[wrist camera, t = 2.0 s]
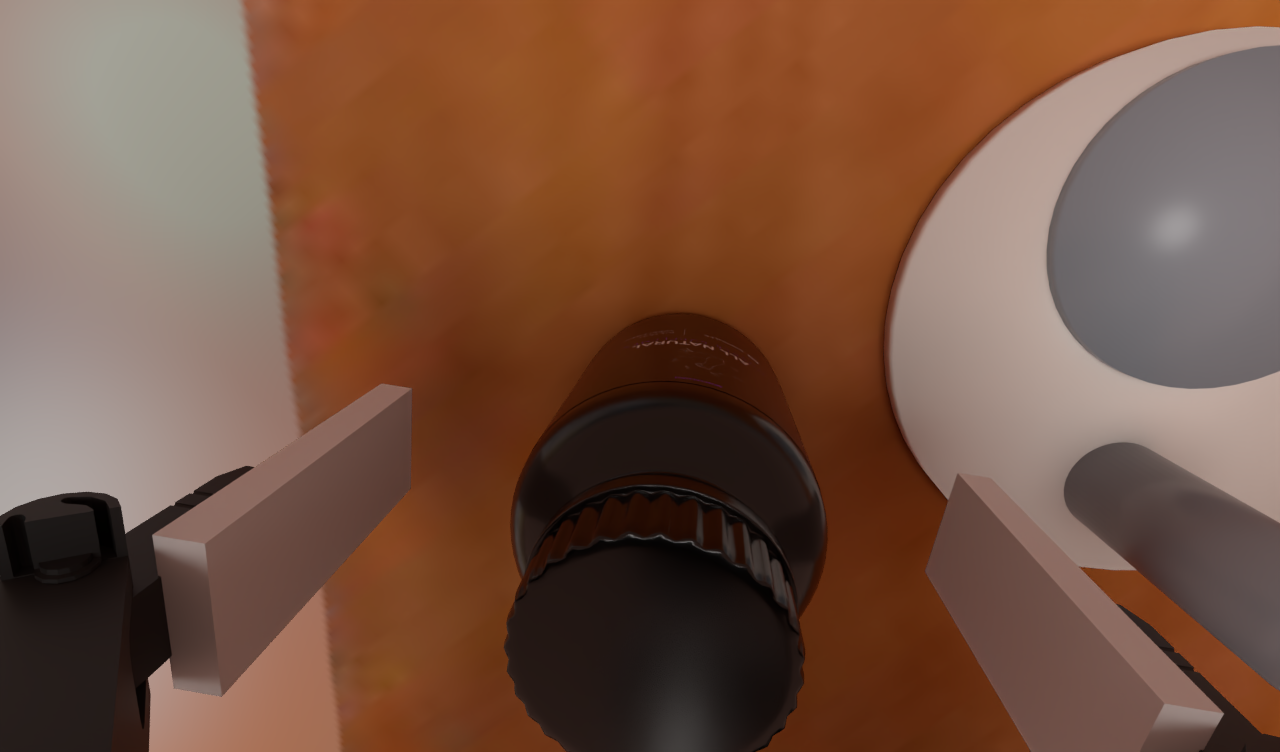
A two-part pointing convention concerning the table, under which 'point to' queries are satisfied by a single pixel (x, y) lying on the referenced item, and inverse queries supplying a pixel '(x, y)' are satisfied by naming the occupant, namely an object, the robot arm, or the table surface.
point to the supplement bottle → (666, 549)
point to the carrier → (1117, 325)
